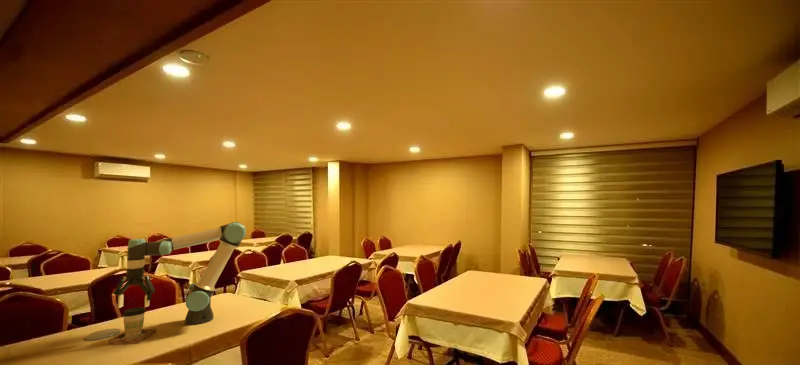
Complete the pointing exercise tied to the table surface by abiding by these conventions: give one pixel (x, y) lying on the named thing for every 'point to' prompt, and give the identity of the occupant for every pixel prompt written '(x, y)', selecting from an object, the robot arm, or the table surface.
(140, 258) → the robot arm
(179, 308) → the table surface
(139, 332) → the coffee cup
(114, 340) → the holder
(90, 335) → the coaster
